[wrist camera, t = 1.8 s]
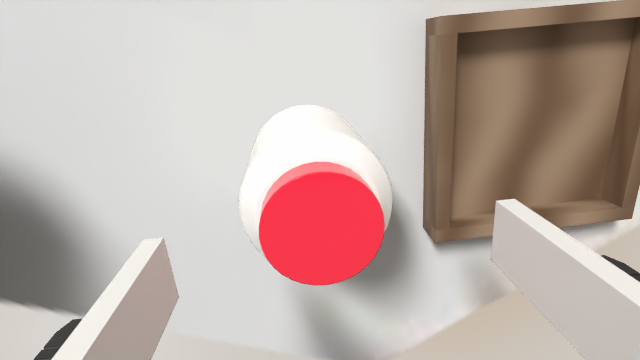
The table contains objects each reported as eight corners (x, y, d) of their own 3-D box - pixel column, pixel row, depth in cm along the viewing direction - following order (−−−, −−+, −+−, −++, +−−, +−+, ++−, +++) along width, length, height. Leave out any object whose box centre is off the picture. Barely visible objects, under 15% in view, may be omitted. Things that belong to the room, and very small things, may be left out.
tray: (423, 227, 29) (435, 242, 26) (426, 19, 24) (441, 16, 21) (604, 205, 30) (631, 218, 27) (645, 0, 24) (683, -5, 22)
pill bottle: (326, 225, 28) (351, 328, 18) (233, 180, 26) (200, 267, 16) (381, 137, 26) (445, 196, 16) (284, 82, 24) (285, 109, 14)
